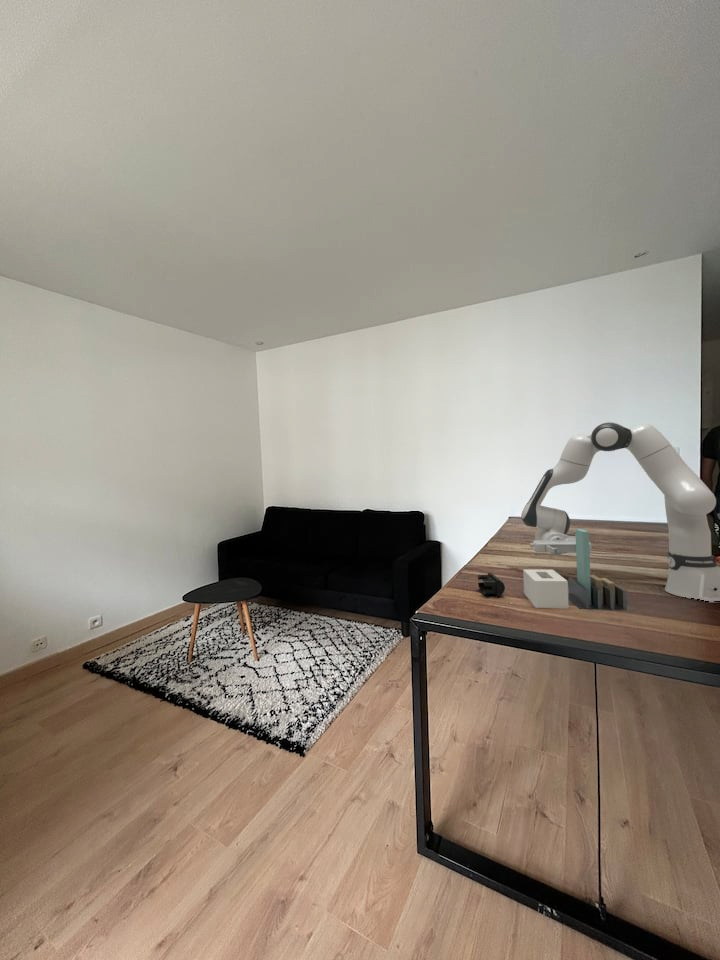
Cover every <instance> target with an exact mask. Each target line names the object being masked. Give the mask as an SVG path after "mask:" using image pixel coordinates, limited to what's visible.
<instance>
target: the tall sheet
mask: <svg viewBox="0 0 720 960" xmlns="http://www.w3.org/2000/svg"><path fill="white" fill-rule="evenodd" d="M574 531H575V535H576V554H575V555H576V558H575V559H576V581H577V582H578V583H580V584H581V585H582V586H584V587H585V588H587V589H588V590H589V604H591V582H590V575H591V559H590V556H591V555H590V553H591V552H589V542H590V531H588V530H585V529H582V528H575V530H574Z"/></svg>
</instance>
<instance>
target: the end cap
mask: <svg viewBox="0 0 720 960" xmlns="http://www.w3.org/2000/svg"><path fill="white" fill-rule="evenodd" d="M477 580H482V582H480V581H479V582H477V587H478V591H479V592H480V594H481V593H482V594H483V595H484V596H485V597H497V598H499V597H500V596H502V595H503V594H504V593H505V590H506V586H505V583H504V582H503V581H502V580H501V579H499V578H498V577H497V576H496V575H494V573H492V572H487V574H479V575H477ZM483 595H482V596H483ZM484 596H483V597H484ZM485 597H484V598H485Z"/></svg>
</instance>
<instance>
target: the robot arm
mask: <svg viewBox="0 0 720 960" xmlns="http://www.w3.org/2000/svg"><path fill="white" fill-rule="evenodd" d="M622 449H627V450H628V451H629V452H630V453H631V454H632V455H633V457H634V458H635V459H636V461H637V462H638V464H639V465H640V466H641V468H642V470H644V472H645V473H646V475H647V476H648V478H649V479H650V480H651V481H652V482H653V483H654V484H655V486H656V487H657V488H658V489H659V490H660V491H661V493H662V494H663V495H664V507H665V516H666V522H667V527H668V548H669V549H668V552H667V564H668V574H667V581H666V584H665V587H664V591H665V592H667V593H668V594H672V595H674V596H678V597H681V598H685V597H686V599H691V598H694V599H693V600H697V599H700V600H699V601H701V600H704V601H703V602H705V601H709V602H708V603H715V602H714V601H720V566H719V565H718V564H719V563H720V556H715V555H713V554H712V532H711V530H710V526H709V522H708V516H707V514H709V513H711V512H712V511H714V510H715V507H716V505H717V498H716V496H715V494H714V492H712V491H711V489H710V488H709V486H707V485H706V484H705V482H703V480H702V479H701V478H700V477H699V476H698V475H697V474H696V473H695V472H694V470H692V469H691V467H690V466H689V465H688V464H687V463H686V462H685V460H683V458H682V457H681V455H679V453H678V452H677V451H676V449H675V448H674V447H673V445H672V444H671V442H670V441H669V440H668V439H667V438H666V437H665V435H663V434H662V433H661V432H660V431H659V430H658V429H657V428H656V427H654V426H653V425H652V424H648V423H643V424H638V425H636V426H634V427H631V428H628V427H625V426H623V425H621V424H620V423H617V422H614V421H609V422H604V423H603V422H602V423H601V424H598V425H597V426H596V427H594V429H593V430H592V431H591V434H587V435H586V434H575V435H573V436H571V437H570V438H569V439H568V441H567V443H566V444H565V446H564V448H563V449H562V453H561V456H560V457H559V459H558V462H557V463H556V465H555V466H554V467H552V468H550V469H547V470H546V471H545V472H544V474H543V476H542V477H541V479H540V480H539V482H538V484H537V486H536V488H535V490H534V491H533V493H532V495H531V497H530V499H529V500H528V501H527V503H526V504H525V505H524V508H523V509H522V511H521V514H520V515H521V517H520V518H521V521H522V522H523V524H524V525H525V526H527V527H531V528H537V530H536V531H535V534H534V539H535V540H533V541H532V542H530V543H529V546H530V547H532V548H533V551H534V552H536V553H541V554H542V553H550V554H551V555H553V556H560V555H562V554H563V555H565V554H568V553H569V554H570V553H573V554H574V553H576V534H573V535H572V534H568V533H569V530H570V525H571V519H570V516H569V514H568V512H567V511H565V510H562V509H558V508H553V507H549V506H544V505H542V503H543V501H544V499H545V498H546V496H547V494H548V493H549V491H550V490H551V489H552V488H555V487H556V486H562V485H568V484H569V485H570V484H575V483H577V482H580V481H582V480H583V479H584V478H585V477H586V475H587V474H588V471H589V469H590V467H591V465H592V462H593V459H594V457H595V455H596V454H597V453H598V452H600V451H602V452H614V451H616V450H617V451H618V450H622ZM592 549H593V546H592V543H591V542H590V541H589V552H590V553H592V551H593V550H592Z"/></svg>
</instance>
